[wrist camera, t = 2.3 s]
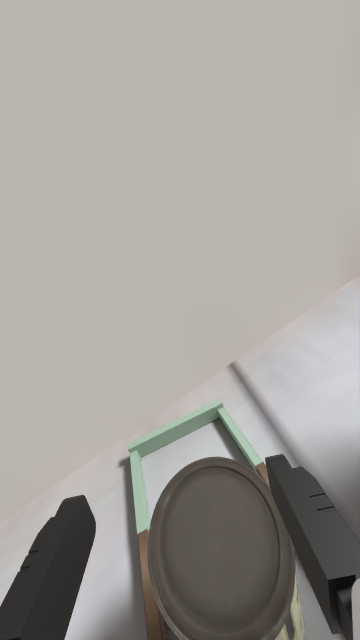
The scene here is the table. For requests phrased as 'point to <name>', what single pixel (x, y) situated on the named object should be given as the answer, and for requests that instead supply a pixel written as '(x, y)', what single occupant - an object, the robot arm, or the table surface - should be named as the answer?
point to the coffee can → (223, 557)
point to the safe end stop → (171, 434)
